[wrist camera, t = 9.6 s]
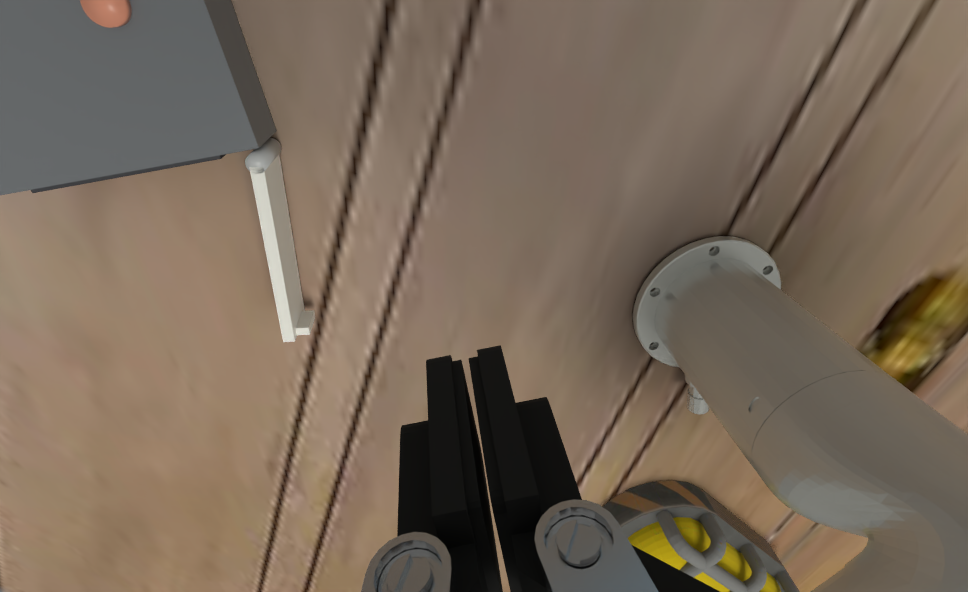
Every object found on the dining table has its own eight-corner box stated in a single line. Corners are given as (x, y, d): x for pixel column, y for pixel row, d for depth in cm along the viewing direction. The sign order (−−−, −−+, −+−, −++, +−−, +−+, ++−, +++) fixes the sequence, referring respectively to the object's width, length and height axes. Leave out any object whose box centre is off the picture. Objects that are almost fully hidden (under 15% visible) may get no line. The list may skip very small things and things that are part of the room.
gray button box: (278, 135, 34) (258, 155, 29) (48, 177, 33) (-7, 204, 29) (184, -134, 27) (139, -160, 22) (-109, -85, 26) (-213, -102, 22)
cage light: (729, 679, 65) (581, 602, 52) (699, 614, 71) (561, 531, 59) (834, 623, 60) (701, 525, 48) (791, 559, 67) (665, 458, 55)
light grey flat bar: (291, 138, 34) (277, 153, 30) (316, 311, 40) (307, 340, 37) (260, 137, 34) (243, 153, 30) (291, 312, 40) (280, 342, 37)
